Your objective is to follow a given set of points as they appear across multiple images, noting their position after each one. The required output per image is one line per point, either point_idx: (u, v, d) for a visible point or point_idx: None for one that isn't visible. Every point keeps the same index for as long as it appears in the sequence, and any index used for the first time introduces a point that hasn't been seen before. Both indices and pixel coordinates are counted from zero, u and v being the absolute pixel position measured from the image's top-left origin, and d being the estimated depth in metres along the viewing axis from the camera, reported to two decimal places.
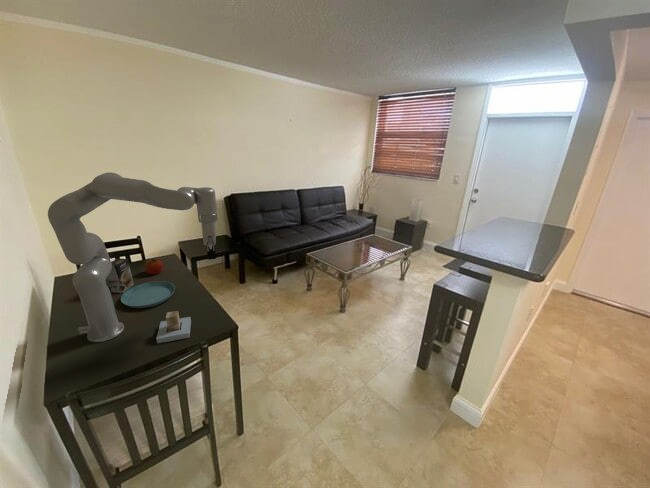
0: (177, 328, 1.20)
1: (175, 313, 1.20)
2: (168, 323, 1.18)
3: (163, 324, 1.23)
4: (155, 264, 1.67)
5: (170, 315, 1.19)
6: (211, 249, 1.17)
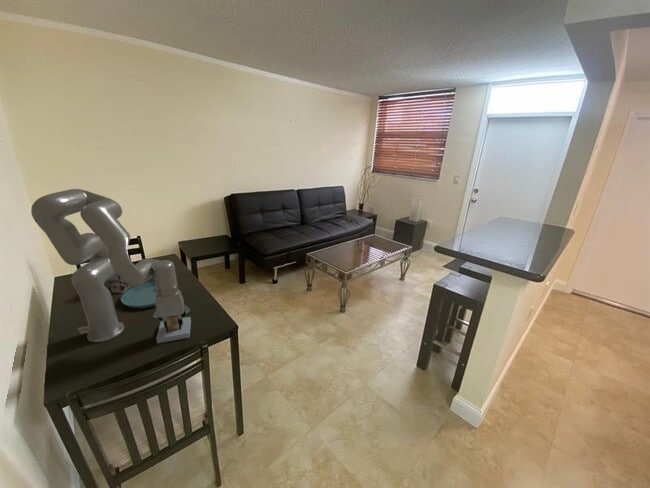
0: (177, 328, 1.20)
1: None
2: (168, 323, 1.18)
3: (163, 324, 1.23)
4: None
5: None
6: None
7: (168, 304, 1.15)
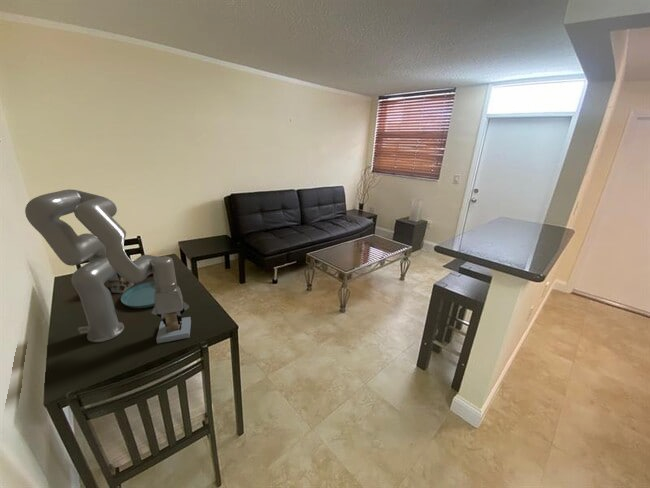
0: (176, 325, 1.20)
1: None
2: (167, 320, 1.17)
3: (163, 324, 1.23)
4: None
5: None
6: None
7: (167, 301, 1.14)
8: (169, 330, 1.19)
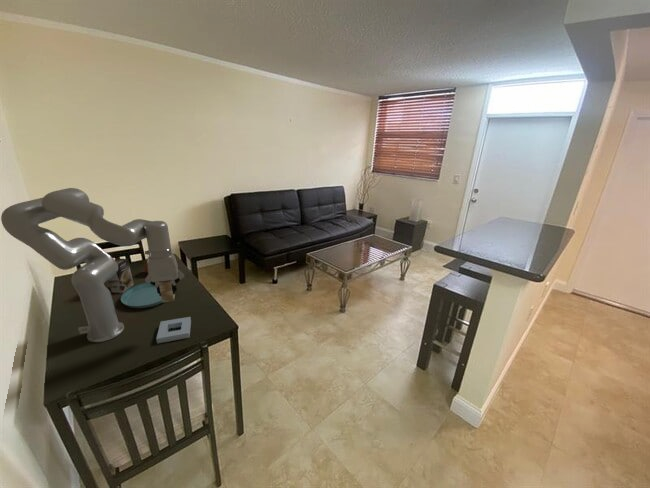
0: (171, 294, 1.14)
1: None
2: (161, 288, 1.12)
3: (163, 324, 1.23)
4: None
5: None
6: None
7: (161, 267, 1.09)
8: (163, 300, 1.14)
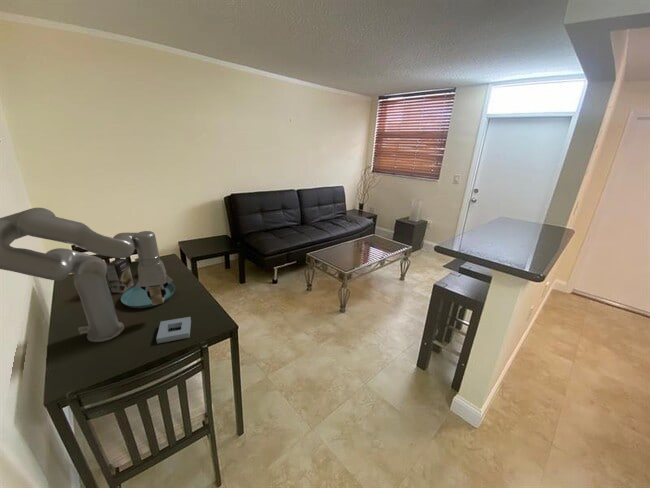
0: (160, 298, 1.25)
1: None
2: (151, 292, 1.23)
3: (163, 324, 1.23)
4: None
5: None
6: (166, 285, 1.26)
7: (150, 273, 1.19)
8: (153, 303, 1.25)
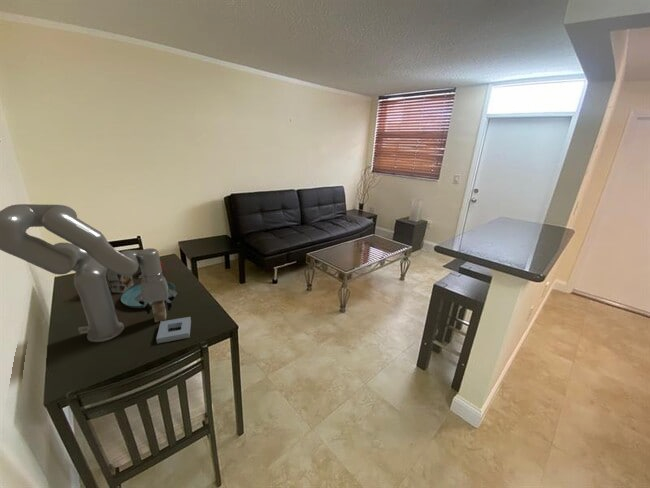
0: (162, 315, 1.28)
1: (160, 301, 1.28)
2: (154, 310, 1.26)
3: (163, 324, 1.23)
4: None
5: (155, 302, 1.27)
6: None
7: (153, 290, 1.22)
8: (156, 320, 1.28)
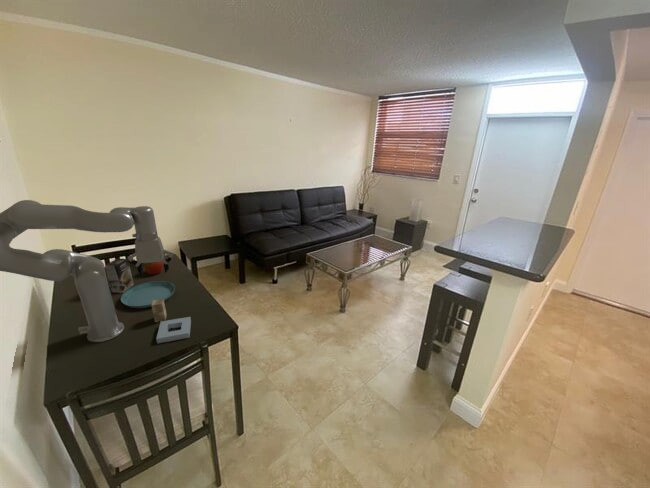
0: (162, 315, 1.28)
1: (161, 301, 1.28)
2: (154, 310, 1.26)
3: (163, 324, 1.23)
4: (155, 264, 1.67)
5: (155, 302, 1.27)
6: None
7: (147, 249, 1.18)
8: (156, 320, 1.28)
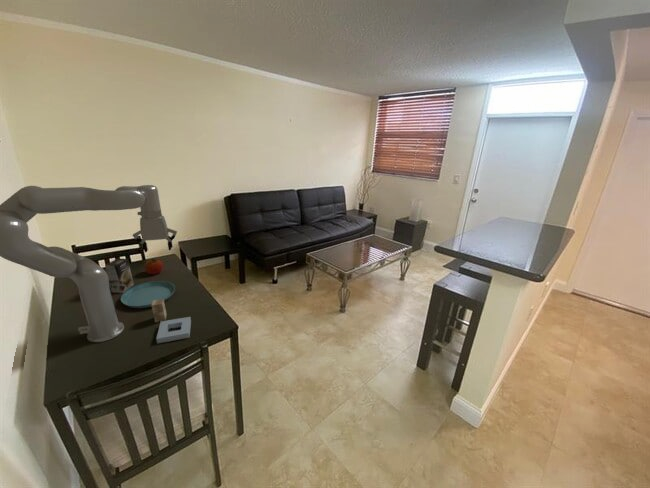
0: (162, 315, 1.28)
1: (161, 301, 1.28)
2: (154, 310, 1.26)
3: (163, 324, 1.23)
4: (155, 264, 1.67)
5: (155, 302, 1.27)
6: (173, 238, 1.30)
7: (152, 227, 1.22)
8: (156, 320, 1.28)
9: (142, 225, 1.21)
